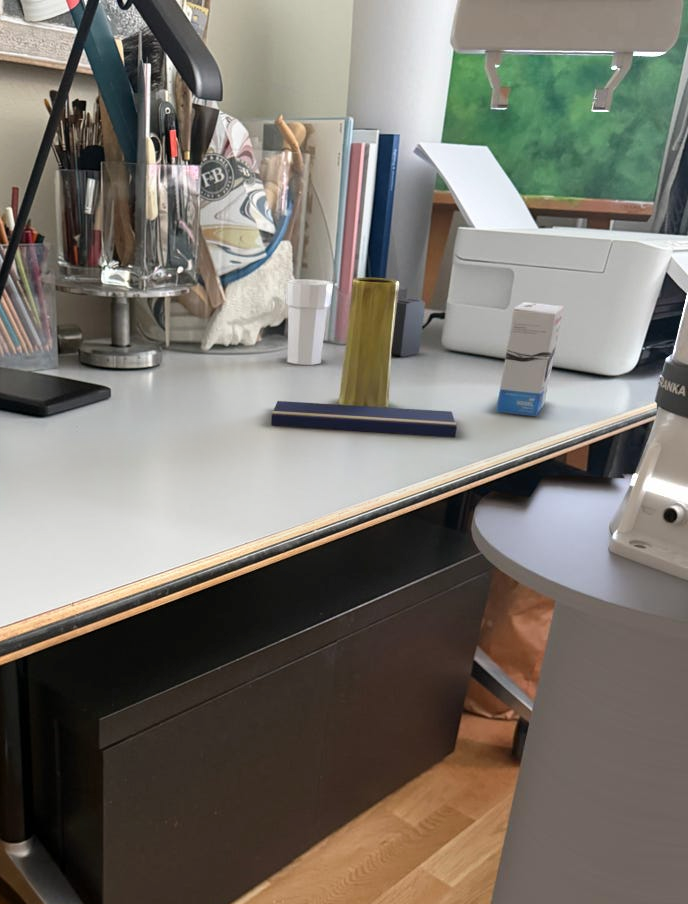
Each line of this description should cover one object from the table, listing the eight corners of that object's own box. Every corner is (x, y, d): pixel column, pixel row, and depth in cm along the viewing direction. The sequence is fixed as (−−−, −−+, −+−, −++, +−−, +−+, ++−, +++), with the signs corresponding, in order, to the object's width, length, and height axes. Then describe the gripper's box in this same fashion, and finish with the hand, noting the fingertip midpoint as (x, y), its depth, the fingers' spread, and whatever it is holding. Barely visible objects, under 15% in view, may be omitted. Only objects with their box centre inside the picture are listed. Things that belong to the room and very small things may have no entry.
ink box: (537, 418, 110) (557, 312, 104) (494, 412, 111) (511, 308, 106) (546, 403, 117) (565, 304, 111) (505, 398, 118) (522, 300, 113)
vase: (377, 413, 109) (392, 284, 103) (329, 406, 112) (340, 280, 106) (395, 404, 114) (410, 279, 108) (349, 397, 117) (360, 275, 110)
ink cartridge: (407, 351, 147) (413, 298, 143) (419, 354, 146) (426, 299, 142) (388, 355, 144) (394, 300, 140) (400, 357, 142) (406, 302, 139)
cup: (291, 355, 141) (296, 278, 136) (332, 360, 139) (339, 281, 134) (274, 362, 136) (279, 282, 131) (316, 367, 134) (323, 286, 129)
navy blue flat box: (450, 421, 107) (452, 410, 106) (455, 437, 101) (457, 425, 100) (276, 410, 109) (277, 399, 109) (271, 425, 103) (271, 413, 103)
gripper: (690, -61, 85) (653, 114, 91) (460, -60, 88) (440, 109, 94) (712, -77, 79) (671, 110, 86) (466, -76, 82) (444, 105, 88)
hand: (548, 109), depth 90 cm, fingers open, 8 cm apart
